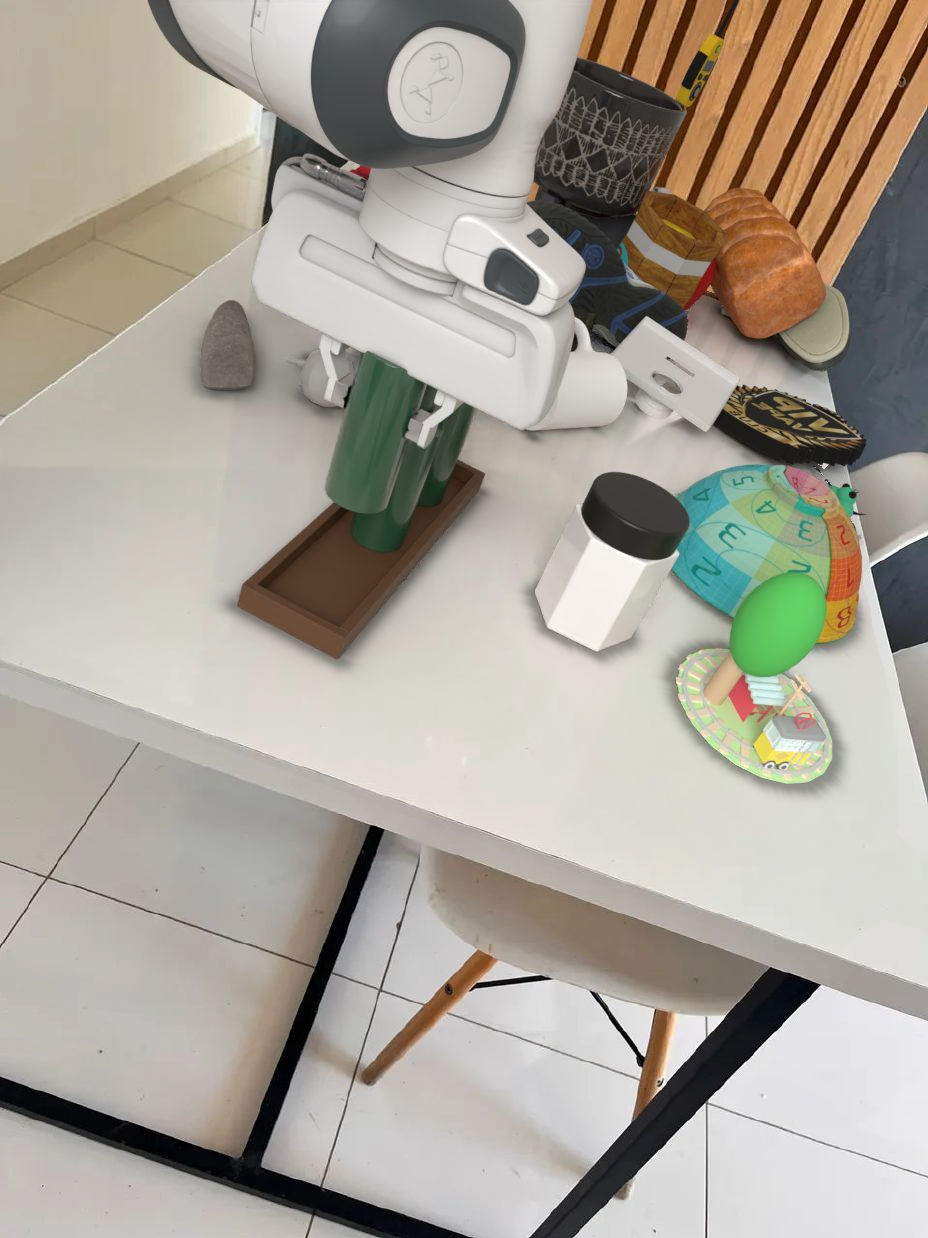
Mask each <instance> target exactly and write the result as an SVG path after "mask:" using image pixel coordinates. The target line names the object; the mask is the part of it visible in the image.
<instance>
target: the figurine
mask: <svg viewBox="0 0 928 1238" xmlns="http://www.w3.org/2000/svg"><path fill="white" fill-rule="evenodd" d="M347 359H348V364H349V369H350V374H352V375H354V374H355V370H356V369H355V367H354V364H353V363H352V362H351V360H350V359H349V358H348V357H347ZM285 362H287V363H289V364H292V365H294V366H297V367H300V368H301V371H300V377H299V383H298V386H300V387H301V390H302V393H303V395H304V396H305V397H306V398H307V399H308V400H309V401H310V402H311V403H313V404H315V405H318V406H321V407H322V408H336V407H338V406H337V405H335V404H333V403H331V402H329V401H327V400H325V398H324V396H325V392H326V388H327V384H328V380H329V377H328V376H327V373H326V369H325V366H324V362H323V359H322V355H321V352H320V348H318V349H315V350H312V351H311V353H310V354H309V355H308V357H307V358H306V359H300V358H294V357H293V354H290V357H286V358H285Z"/></svg>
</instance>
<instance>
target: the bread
mask: <svg viewBox="0 0 928 1238" xmlns="http://www.w3.org/2000/svg"><path fill="white" fill-rule="evenodd" d="M703 211H705V212H707V213H708V214H709V215H710V217H711V218H712V219H713V220H714V221H715V222H716V223H717V224H718V225H719V226H720V227H721V229H722V230H723V231H724V232H725V233H726V237H725V240H724V244H723V247H722V249H721V250H720V251H719V253H718V254H717V255H716V256H715V258H714V261H715V264H716V266H717V270H716V274H715V278H714V280H713V282H712V283H711V286H710V287H711V289H712V291H713V294H714V295H715V296H716V298H717V300H718V301H719V303H720V305H721V306H722V308H723V307H724V308H725V310H726V312H727V313H728V315H729V316H730V317H729V318H730V319H731V320H732V322H733V323H734V325H735V326H736V327H737V329H738V331H739V332H740V333H741V334H742V335H743V336H745V337H746V338H747V337H748V338H752V339H754V340H755V339H756V340H762V339H767V338H770V337H771V336H774V335H775V334H776V333H779V332H781V331H783V330H786V329H788V328H790V327H792V326H794V325H795V324H797V323H799V322H800V321H802V320H804V319H805V318H807V317H809V316H810V315H812V314H813V313H814V312H815V311H816V310H817V309H818V308H819V307H820V305H821V304H822V302H823V301H824V299H825V297H826V288H825V286H824V283H825V282H824V281H823V278H822V274H821V273H820V270H819V267H818V266H817V263H816V261H815V259H814V257H813V255H812V254H811V252H810V251H809V248H808V247H807V245H806V244H804V242H803V241H802V239H801V237H800V235H799V233H798V231H797V229H796V227H795V226H794V225H792V224H791V223H790V221H789V220H788V218H787V217H786V216H785V215H784V214H782V213H781V212H780V210H779V209H778V207H776V206H775V205H774V204H773V202H771V201H770V200H768V198H767V196H765V194H764V193H763V192H761V191H760V190H758V189H753V188H742V187H732V188H730V189H728V190H727V191H724V192H723V193H722V194H719V195H718V196H716V197H714V198H712V200H711V201H710V203H708V206H706V207H705V209H703ZM823 282H824V283H823Z"/></svg>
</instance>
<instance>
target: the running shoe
mask: <svg viewBox="0 0 928 1238" xmlns="http://www.w3.org/2000/svg"><path fill="white" fill-rule="evenodd" d="M527 204H528V206H529V207H530V208H531V209H532V210H533V211H534V212H535V213H536V214H537V215H538V216H539V217H540V218H541V219H542V220H543V221H544V222H545V223H546V224H547V225H548V226H549V227H550V228H552V229H553V230H554V231H555V232H556V233H557V234H558V235H559V236H560V237H561V238H562V239H563V240H564V241H565V242H567V243H568V244H569V245H570V246H571V247H572V248H573V249H574V250H575V251H576V252H577V253H578V254H579V255H580V256H581V257H582V258H583V260H584V262H585V265H586V270H585V274H584V276H583V279H582V281H581V283H580V285H579V287H578V289H577V291H576V292H575V294H574V295H573V296H572V297H571V298H570V299H569V303H570V305H571V306H572V308H575V309H579V310H581V311H584V312H588V313H594V314H595V315H596V317H597V319H596V324H594V325H593V330H592V331H591V332H592V333H594V334H595V335H598V336H599V337H602V338H603V339H604V340H605V341H607V343H609V344H610V345H612V346H613V347H615V348H617V347H618V346H619V345H620V344H621V343H622V341H623V340H624V339H625V338H626V337H627V336H628V335H629V334H630V333H631V332H632V331H633V330H634V328H635V327H636V326H637V325H638V324H639V323H640V322H641V321H642V320H643V319H644V318H645V317H646V316H647V317H649V318H650V319H652V320H653V321H655V322H656V323H658V324H659V325H661V326H662V327H664V328H665V329H667V330H668V331H670V332H671V333H673V334H674V335H676V336H677V337H679V338H680V339H682V340H683V341H685V340H686V338H687V334H688V333H687V332H688V329H689V328H688V326H689V323H688V322H689V319H688V312H687V310H684V308H682V307H681V305H679V304H678V302H676V301H675V300H674V299H672V297H670V296H668V295H667V294H666V293H664V292H662V291H660V290H658V289H656V288H654V287H653V286H651V285H649V284H647V283H644V282H643V281H642V280H641V279H640V278H639V277H638V276H637V275H636V274H635V273H634V272H633V271H632V270H631V269H630V268H629V267H627V266H626V264H625V263H624V262H623V260H622V259H621V257H620V254H619V252H618V250H617V249H616V248H615V247H614V245H613V244H611V243H610V242H611V241H610V239H609V238H608V237H606V235H605V234H604V233H603V232H602V231H599V229H598V227H597V226H595V225H594V224H593V223H590V222H589V221H588V220H587V219H586V218H585V217H582V216H580V215H579V214H578V213H577V212H573V211H572V210H571V209H569V208H567V207H564V206H563V205H560V204H556V203H554V202H548V201H541V200H537V201H535V199H534V200H527ZM666 359H667V360H668V361H670V360H672V359H671V358H669V357H667V358H666Z"/></svg>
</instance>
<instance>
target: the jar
mask: <svg viewBox="0 0 928 1238" xmlns="http://www.w3.org/2000/svg"><path fill="white" fill-rule="evenodd" d="M689 525H690V519H689V515H688V513H687V511H686V509H685V508H684V506H683V505H682V504H681V503H680V502H679V501H678V500H677V499H676V498H675V496H674V495H673V493H671V492H669V491H668V490H667V489H665V488H664V487H662V486H660V484H659V485H658V484H657V483H655V482H654V481H651V480H649V479H647V478H644V477H641V476H639V475H635V474H632V473H629V472H623V471H608V472H604V473H601V474H600V475H598V476H597V477H595V479H594V480H593V482H592V484H591V485H590V488H589V490H588V492H587V494H586V497H585V498H584V501H583V502H580V503H577V504H576V505H575V506H574V508H573V510H572V512H571V514H570V516H569V519H568V521H567V523H566V525H565V527H564V529H563V531H562V533H561V535H560V537H559V539H558V541H557V544H556V546H555V548H554V550H553V552H552V554H551V556H550V558H549V560H548V562H547V564H546V567H545V569H544V571H543V573H542V575H541V576H540V579H539V581H538V583H537V585H536V586H535V589H534V594H535V597H536V600H537V604H538V605H539V606H538V607H539V608H540V612H541V615H542V618H543V620H544V623H545V626H546V628H547V629H548V630H551V631H552V632H555V633H557V634H559V635H561V636H563V637H565V638H567V639H569V640H570V641H573V642H575V643H577V644H579V645H581V646H583V647H585V648H587V649H589V650H592V651H593V652H598V653H599V652H600V651H603V650H605V649H607V648H611V647H614V646H615V645H618V644H621V643H624V642H626V641H627V640H630V639H632V637H633V635H634V634H635V632H636V630H637V628H638V627H639V626H640V623H641V621H642V620H643V618H644V616H645V615H646V613H647V611H648V610H649V608H650V606H651V604H653V603H652V602H653V601H654V600H655V597H656V596H657V594H658V592H659V591H660V589H661V587H662V585H663V584H664V582H665V581H666V579H667V577H668V576H669V573H670V572H671V571H672V570H671V568H672V567H673V565H674V563H675V562H676V560H677V558H678V556H679V552H678V550H677V547H678V546H679V544H680V542H681V540H682V539H683V537H684V535H685V534H686V532H687V530H688V528H689Z"/></svg>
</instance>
